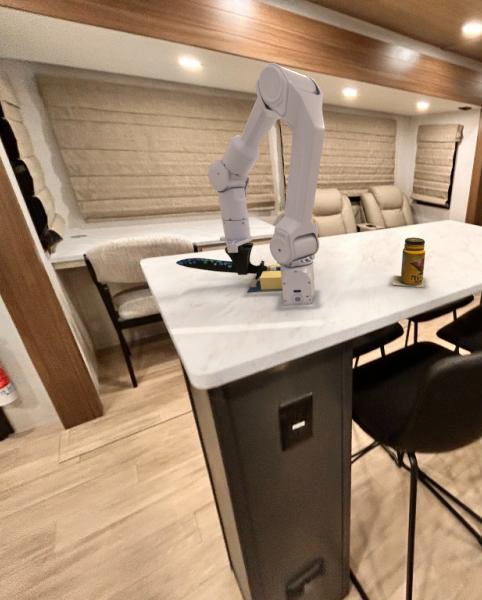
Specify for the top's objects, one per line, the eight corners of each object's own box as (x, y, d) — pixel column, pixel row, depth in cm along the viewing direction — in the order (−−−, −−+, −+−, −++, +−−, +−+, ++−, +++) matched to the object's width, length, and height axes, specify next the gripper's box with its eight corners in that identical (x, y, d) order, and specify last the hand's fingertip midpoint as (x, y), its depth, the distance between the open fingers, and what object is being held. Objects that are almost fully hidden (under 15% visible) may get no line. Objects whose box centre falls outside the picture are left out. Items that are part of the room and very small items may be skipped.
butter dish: (299, 293, 75) (299, 290, 75) (247, 295, 73) (246, 292, 72) (301, 274, 88) (301, 272, 87) (256, 276, 85) (256, 273, 85)
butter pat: (289, 276, 83) (288, 266, 82) (266, 277, 82) (264, 266, 81) (290, 274, 85) (289, 263, 84) (267, 275, 84) (265, 264, 83)
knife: (306, 280, 84) (307, 264, 82) (306, 284, 81) (307, 267, 80) (181, 270, 77) (180, 252, 76) (176, 273, 75) (174, 255, 73)
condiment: (423, 287, 82) (428, 243, 77) (392, 285, 83) (394, 241, 78) (423, 278, 89) (427, 237, 84) (394, 276, 89) (396, 235, 84)
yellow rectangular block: (287, 288, 75) (286, 277, 74) (261, 289, 74) (259, 277, 73) (288, 281, 80) (287, 270, 79) (264, 282, 79) (262, 271, 77)
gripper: (224, 214, 79) (233, 265, 84) (207, 224, 66) (218, 283, 71) (254, 214, 80) (260, 264, 86) (243, 224, 67) (251, 282, 73)
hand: (243, 273), depth 79 cm, fingers closed on knife
